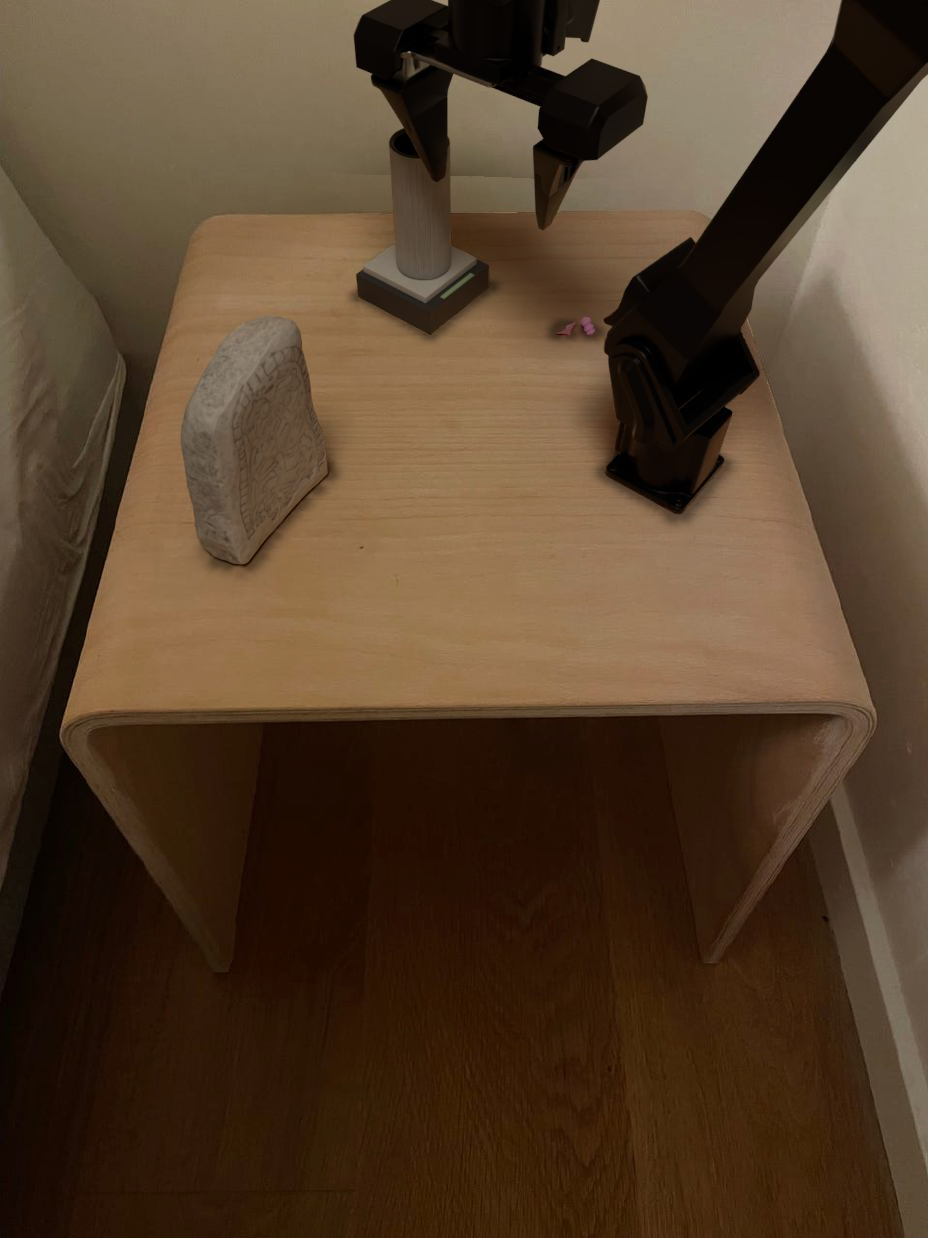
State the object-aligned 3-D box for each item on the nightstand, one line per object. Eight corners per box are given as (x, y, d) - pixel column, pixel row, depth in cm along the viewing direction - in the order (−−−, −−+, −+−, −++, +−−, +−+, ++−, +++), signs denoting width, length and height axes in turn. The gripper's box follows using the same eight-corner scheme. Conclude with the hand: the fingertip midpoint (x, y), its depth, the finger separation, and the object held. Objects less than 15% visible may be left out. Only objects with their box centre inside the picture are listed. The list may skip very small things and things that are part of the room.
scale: (488, 287, 78) (489, 258, 76) (430, 334, 74) (429, 305, 72) (417, 252, 81) (416, 223, 78) (357, 296, 77) (354, 267, 75)
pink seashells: (563, 350, 76) (566, 351, 74) (554, 332, 76) (557, 334, 74) (595, 332, 76) (599, 333, 74) (586, 314, 75) (590, 315, 73)
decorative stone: (256, 581, 60) (204, 414, 48) (183, 548, 62) (115, 378, 49) (342, 474, 66) (315, 299, 53) (273, 447, 67) (232, 270, 55)
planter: (398, 282, 74) (390, 158, 65) (394, 249, 76) (387, 126, 68) (453, 279, 74) (452, 155, 66) (448, 246, 77) (447, 123, 68)
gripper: (721, -69, 50) (667, 198, 63) (457, -145, 56) (457, 111, 69) (611, 2, 45) (577, 275, 58) (335, -91, 51) (360, 174, 64)
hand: (490, 202), depth 62 cm, fingers open, 9 cm apart
